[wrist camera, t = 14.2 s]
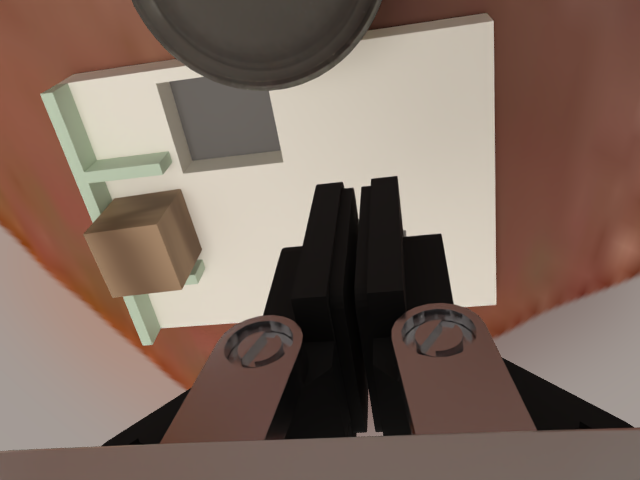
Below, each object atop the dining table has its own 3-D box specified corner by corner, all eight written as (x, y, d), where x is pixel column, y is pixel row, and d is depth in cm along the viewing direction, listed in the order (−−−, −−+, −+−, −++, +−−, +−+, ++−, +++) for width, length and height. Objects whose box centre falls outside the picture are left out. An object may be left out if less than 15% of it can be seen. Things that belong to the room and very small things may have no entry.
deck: (486, 12, 35) (499, 28, 31) (490, 284, 45) (501, 322, 41) (74, 74, 39) (40, 94, 35) (161, 309, 49) (142, 345, 45)
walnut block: (180, 188, 40) (156, 224, 36) (202, 249, 42) (181, 289, 38) (114, 198, 41) (83, 234, 37) (139, 257, 43) (112, 297, 39)
